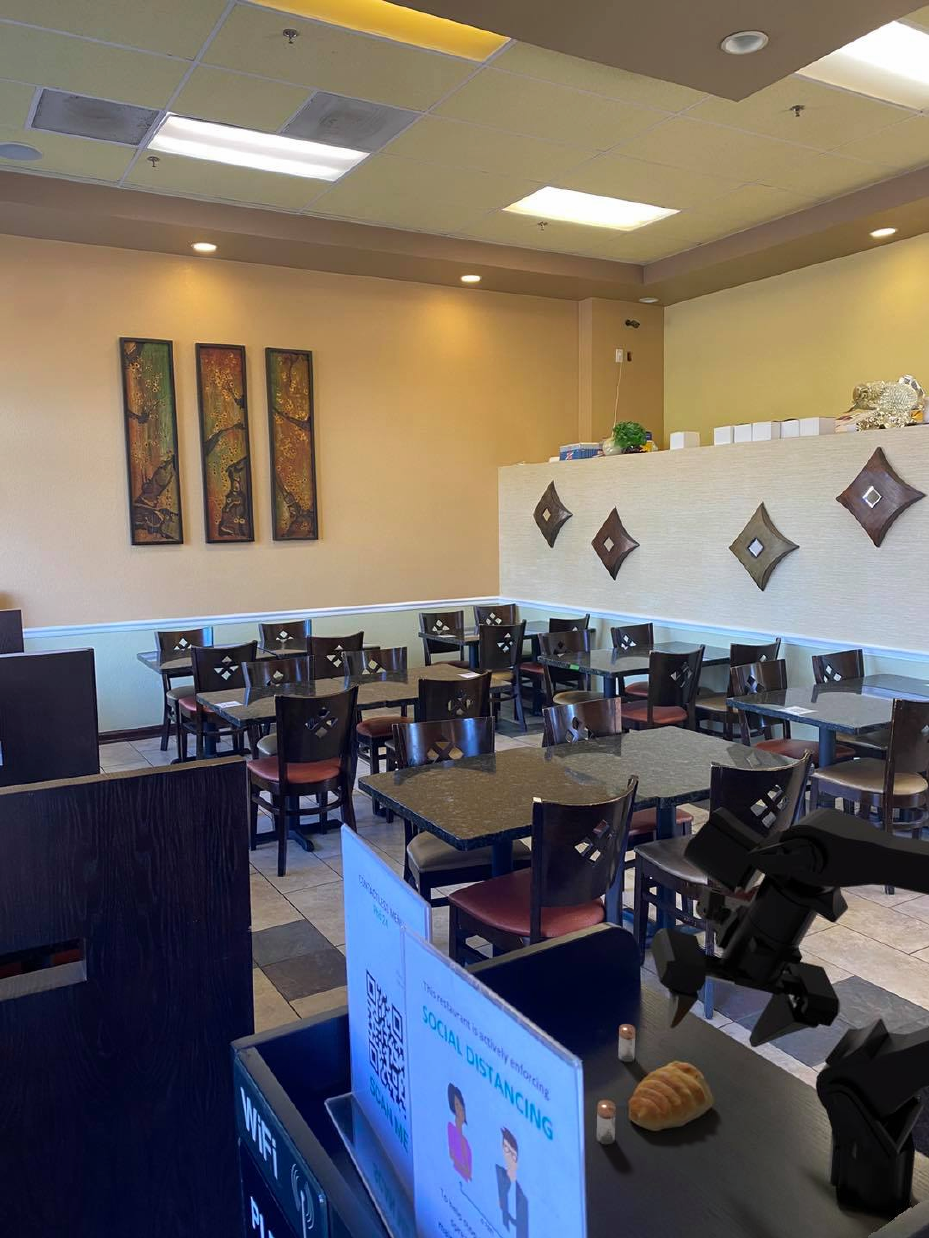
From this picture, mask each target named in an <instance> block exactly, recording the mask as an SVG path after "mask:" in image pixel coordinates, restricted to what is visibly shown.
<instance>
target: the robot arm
mask: <svg viewBox="0 0 929 1238" xmlns="http://www.w3.org/2000/svg"><path fill="white" fill-rule="evenodd" d="M682 858H683V861H685V863H687V864H688V865H690V866H691V867H693V868H694V869H695V870H696V871H698V872H700V874H702V875H703V876H705V877H706V878H707V879H709V880H710V881H712V882H713V883H714V884H715V885H717V886H718V887H720V888H721V889H722V890H723V891H725V892H726V893H728V895H736V893H737V892H738V891H739V889H740V890H741V891H743V893H745V894H747V893H749V892H750V891H751V890H752V888H754V886H755V885H756V884H757V883H758V881H759V880H760V878H761V876H762V875H764V877H763V878H762V880H761V882H760V884H759V886H758V887H757V889H756V891H755V893H754V895H753V896H752V899H750V901H748V900H744V899H739V898H736V897H731V896H728V895H726V894H725V893H722V891H721V889H719V888H714V887H710V886H707V885H706V886H704V888H703V889H702V890H701V893H700V894H699V896H698V897H697V898H698V899H697V901H696V904H695V912H696V914H697V915H698V917H700V919H701V920H702V921H705V922H707V924H708V926H709V925H710V926H712V927H713V928H714V930H716V932H717V934H716V936H715V938H714V940H715V943H716V946H717V948H720V949H722V953H721V955H720V956H715V955H710V954H707V953H704V952H703V953H702V949H701V947H700V943H699V939H698V938H697V935H694V934H689V933H687V932H682V931H678V930H674V929H671V928H666V927H665V928H660V929H659V930H657V932H656V933H655V934H654V936H653V938H652V940H651V942H650V943H649V944H650V945H649V946H650V950H651V953H652V957H653V961H654V964H655V969H656V972H657V976H658V981H659V983H660V984H661V985H663V986H664V988H666V989H667V990H668V992H669V1001H668V1002H669V1003H668V1016H667V1017H668V1019H667V1020H668V1021H667V1022H668V1025H669V1028H670V1029H675V1028H676V1027H677V1026H679V1024H680V1023H681V1022H682V1021H683V1020H684V1018H685V1017H686V1015H687V1014H688V1013H689V1012H690V1011H691V1009H692V1008H693V1007H694V1005H695V1004H696V1003H697V1001H698V1000H699V995H698V992H699V991H701V990H702V989H703V987H704V985H705V983H706V979H709V980H712V981H718V982H720V983H725V984H730V985H733V986H738V987H741V988H746V989H751V990H754V991H761V992H765V993H768V994H769V993H770V994H771V998H769V999H770V1000H769V1001H768V1003H767V1004H766V1006H765V1008H764V1010H763V1011H762V1013H761V1015H760V1016H759V1018H758V1019H757V1021H756V1023H755V1024H754V1027H753V1028H752V1031H751V1034H750V1035H749V1038H748V1041H749V1043H750V1046H751V1048H757V1047H760V1046H762V1045H765V1044H768V1043H770V1042H772V1041H774V1040H776V1039H779V1038H781V1037H784V1036H787V1035H790V1034H793V1033H797V1032H799V1031H802V1030H806V1029H817V1028H818V1027H819V1026H820V1025H823V1026H826V1027H831V1026H832V1025H833V1024H834V1022H835V1021H836V1019H837V1018H838V1016H839V1015H840V1012H841V1002H840V1000H839V997H838V995H837V993H836V991H835V989H834V986H833V984H832V983H831V981H830V979H829V977H828V975H827V973H826V970H825V969H824V966H820V965H816V964H812V963H807V962H804V961H802V959H803V955H802V953H801V951H800V948H799V946H800V945H801V943H802V941H803V940H804V938H805V936H806V935H807V933H808V932H809V930H810V927H811V926H812V924H813V923H814V921H815V920H816V917H817V916H818V914H819V915H820V916H821V917H823V919H826V920H827V921H828V922H829V923H832V924H833V923H836V922H837V921H838V920H839V919H840V918H841V917H842V916H843V915H844V914H845V913H846V912H847V911H848V909H849V905H848V904H847V901H846V899H845V897H844V896H843V894H842V888H845V889H846V888H852V887H863V886H887V887H890V888H894V889H900V890H905V891H909V892H914V893H918V894H924V895H928V896H929V841H928V840H922V839H919V838H918V839H917V838H911V837H905V836H900V835H897V834H894V833H890V832H888V831H885V830H883V829H881V828H879V827H878V826H876V825H874V824H873V823H871V822H869V821H868V820H866V819H864V818H860V817H857V816H854V815H852V814H849V813H846V812H843V811H840V810H837V809H833V808H830V807H829V808H828V807H827V808H826V807H819V808H816V809H813V810H812V811H810V812H808V813H807V814H805V816H803V817H801V818H800V819H798V820H797V821H796V822H795V823H794V824H792V825H791V826H789V827H788V828H785V829H782V830H777V831H776V832H774V833H772V835H770V836H769V837H766V838H765V837H763V836H762V835H761V834H759V833H757V832H756V831H755V830H753V829H752V828H750V827H749V826H747V825H746V824H745V823H743V822H742V821H740V820H739V819H738V818H736V816H735V815H734V814H733V813H732V812H730V811H729V810H727V809H726V808H724V807H723V806H722V807H719V808H717V809H716V810H714V811H712V812H711V814H710V816H709V818H708V820H707V821H706V822H705V823H704V824H703V825H702V826H701V828H699V830H698V831H697V833H696V834H695V835H694V837H692V838H690V840H689V842H688V843H687V845H686V847H685V850H684V851H683V856H682ZM824 1062H825V1065H824V1066H823V1068H822V1069H821V1070H820V1072H819V1073H818V1075H817V1076H816V1081H815V1089H816V1095H817V1097H818V1100H819V1101H820V1104H821V1106H822V1107H823V1108H824V1110H825V1111H826V1115H827V1118H828V1121H829V1125H830V1129H831V1132H830V1133H831V1134H830V1147H829V1161H828V1169H829V1170H828V1172H829V1183H830V1185H831V1186H832V1187H833V1188H834V1191H835V1202H836V1205H837V1207H839V1208H841V1209H845V1210H849V1211H853V1212H856V1213H857V1212H858V1213H862V1214H865V1215H869V1216H874V1217H878V1218H883V1219H886V1220H891V1221H894V1220H893V1219H894V1218H895V1217H897V1216H898V1215H899V1214H901V1213H903V1212H904V1211H906V1210H907V1209H908V1208H910V1207H912V1208H913V1206H912V1201H911V1200H912V1189H913V1178H914V1166H915V1159H916V1158H915V1156H916V1146H915V1143H914V1139H913V1134H912V1129H913V1127H914V1126H915V1124H916V1121H917V1119H918V1118H919V1116H920V1114H921V1112H922V1110H923V1108H924V1103H923V1101H922V1100H921V1098H919V1096H918V1095H917V1094H918V1093H920V1092H921V1091H923V1090H926V1089H928V1088H929V1026H926V1027H924V1028H921V1029H918V1030H914V1031H913V1032H909V1033H896V1032H890V1031H888V1029H887V1027H886V1025H885V1023H884V1021H883V1019H882V1018H878V1019H876V1020H874V1021H873V1022H871V1023H870V1024H868V1025H867V1026H864V1027H862V1028H858V1029H857V1028H848V1029H847V1030H846V1032H845V1033H844V1034H843V1035H842V1037H841V1038H840V1039H839V1041H838V1042H837V1044H836V1045H835V1046H834V1048H832V1050H831V1052H830V1053H829V1054H828V1056H827V1057H826V1058H825V1060H824Z"/></svg>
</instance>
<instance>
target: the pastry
mask: <svg viewBox="0 0 929 1238" xmlns="http://www.w3.org/2000/svg"><path fill="white" fill-rule="evenodd" d="M713 1104H714V1096H713V1095H712V1092H711V1089H710V1087H709V1084H707V1082H706V1078H705V1076H704V1075H703V1073H702V1072H701V1071H700V1070H698V1068H696V1067H695V1066H694V1065H692V1064H691V1063H688V1062H681V1061H679V1060H673V1061H672V1062H669V1063H668V1064H667V1065H666V1066H662V1067H660V1068H656V1069H655V1070H653V1071H651V1072H649V1074H648V1075H647V1076H645V1077H644V1078H643V1079H642V1081H641V1082H640V1083H639V1084H638V1085H637V1087H636V1088H635V1089H634V1092H633V1094H632V1096H631V1098H629V1100H628V1109H629V1110H628V1111H629V1112H628V1118H629V1120H630V1121H632V1123H634V1124H636V1125H637V1126H639V1127H642V1128H643V1129H646V1130H649V1131H652V1132H659V1131H662V1130H664V1129H671V1128H680V1127H683V1126H685V1124H687V1123H690V1122H691V1121H693V1120H696V1119H698V1118H699V1117H701V1116H702V1115H704V1114H706V1112H707V1111H708V1110H710V1108H711V1107H712V1105H713Z"/></svg>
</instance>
